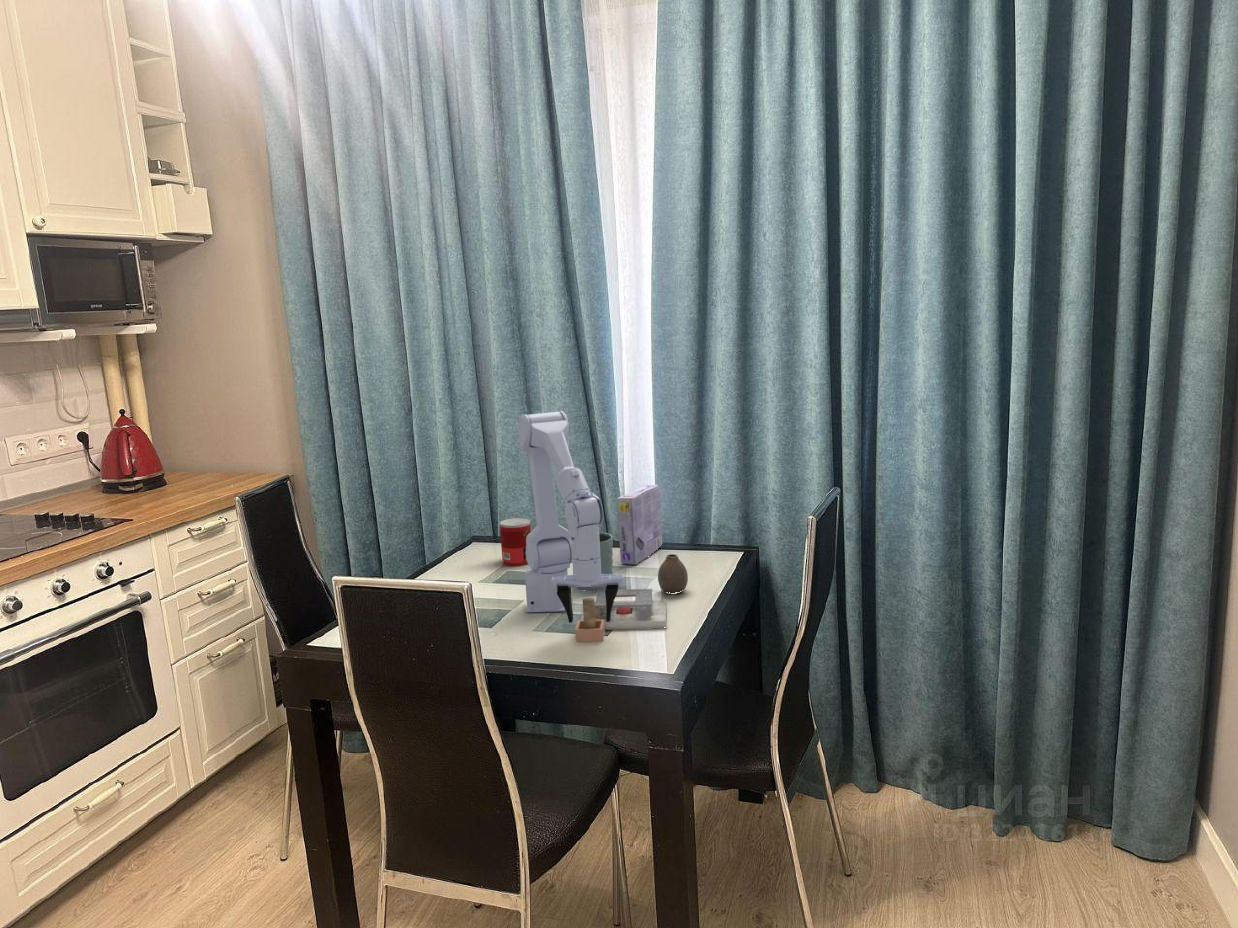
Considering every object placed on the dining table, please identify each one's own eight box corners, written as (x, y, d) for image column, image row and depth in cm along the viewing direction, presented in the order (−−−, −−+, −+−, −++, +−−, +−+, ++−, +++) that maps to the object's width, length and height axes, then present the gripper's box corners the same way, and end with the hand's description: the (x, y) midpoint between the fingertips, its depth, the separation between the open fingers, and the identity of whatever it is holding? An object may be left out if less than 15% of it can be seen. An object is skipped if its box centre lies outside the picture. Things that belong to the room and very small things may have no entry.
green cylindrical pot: (610, 593, 213) (607, 543, 211) (568, 592, 215) (565, 542, 213) (618, 579, 223) (616, 531, 220) (578, 578, 225) (576, 531, 222)
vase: (663, 598, 208) (662, 561, 206) (654, 589, 214) (653, 553, 213) (692, 594, 209) (691, 557, 208) (682, 585, 216) (681, 549, 214)
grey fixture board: (580, 630, 190) (578, 610, 190) (585, 608, 203) (584, 589, 202) (666, 628, 189) (665, 608, 188) (666, 606, 202) (665, 587, 201)
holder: (575, 641, 184) (574, 630, 184) (578, 631, 190) (577, 620, 189) (603, 641, 184) (602, 629, 183) (605, 630, 189) (604, 619, 189)
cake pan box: (648, 545, 251) (646, 482, 248) (665, 546, 249) (663, 483, 246) (618, 565, 234) (615, 497, 231) (636, 566, 232) (633, 499, 229)
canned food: (531, 565, 237) (528, 524, 235) (500, 566, 237) (497, 526, 235) (534, 557, 244) (531, 517, 242) (504, 558, 245) (501, 518, 243)
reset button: (617, 619, 195) (617, 608, 194) (618, 614, 198) (617, 603, 197) (630, 619, 195) (630, 608, 194) (631, 614, 198) (630, 603, 197)
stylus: (583, 636, 186) (581, 601, 184) (585, 631, 188) (583, 597, 187) (595, 636, 186) (593, 601, 184) (597, 631, 188) (595, 597, 186)
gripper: (547, 563, 180) (551, 628, 183) (621, 561, 179) (624, 626, 182) (552, 553, 187) (556, 615, 190) (622, 551, 186) (625, 614, 189)
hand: (589, 620), depth 186 cm, fingers open, 7 cm apart
